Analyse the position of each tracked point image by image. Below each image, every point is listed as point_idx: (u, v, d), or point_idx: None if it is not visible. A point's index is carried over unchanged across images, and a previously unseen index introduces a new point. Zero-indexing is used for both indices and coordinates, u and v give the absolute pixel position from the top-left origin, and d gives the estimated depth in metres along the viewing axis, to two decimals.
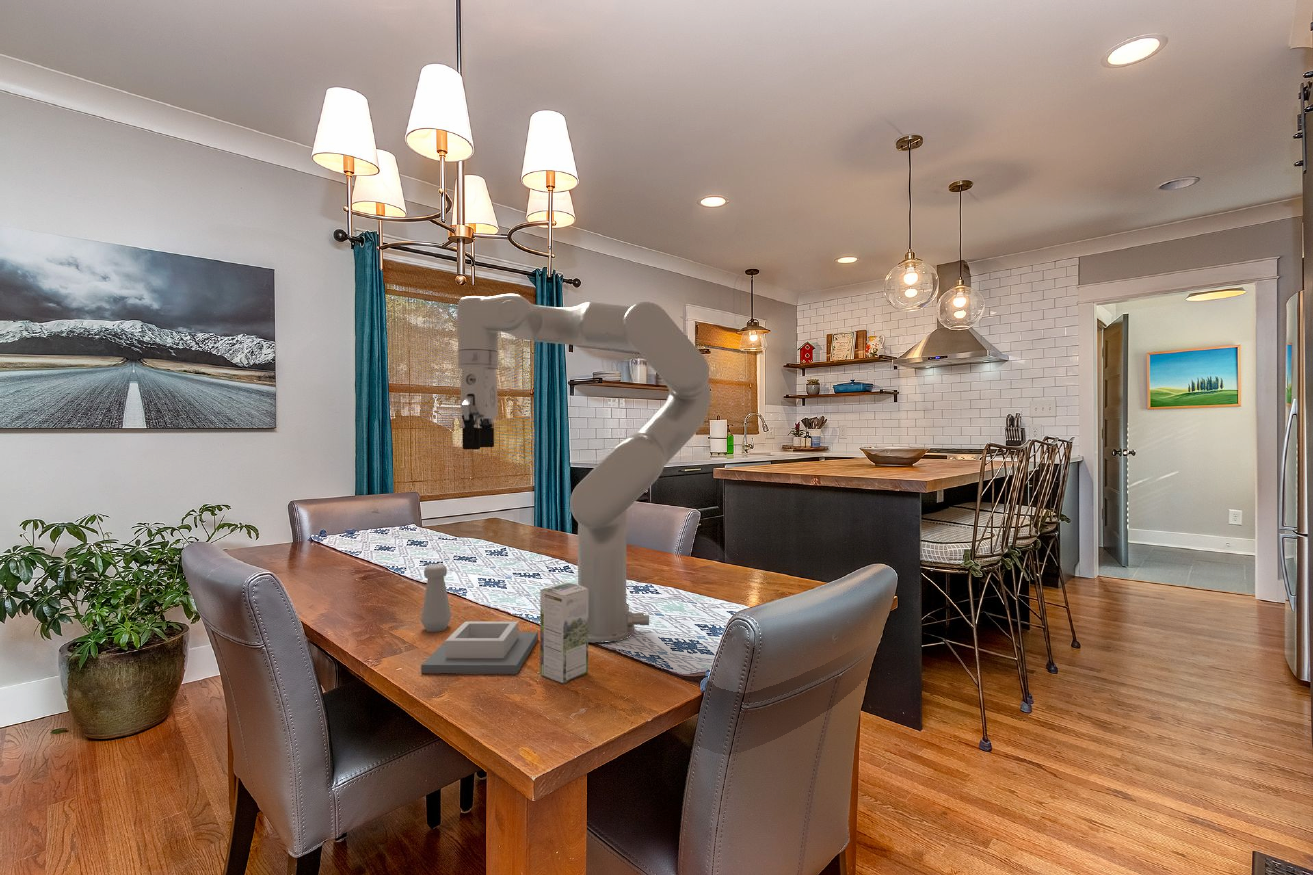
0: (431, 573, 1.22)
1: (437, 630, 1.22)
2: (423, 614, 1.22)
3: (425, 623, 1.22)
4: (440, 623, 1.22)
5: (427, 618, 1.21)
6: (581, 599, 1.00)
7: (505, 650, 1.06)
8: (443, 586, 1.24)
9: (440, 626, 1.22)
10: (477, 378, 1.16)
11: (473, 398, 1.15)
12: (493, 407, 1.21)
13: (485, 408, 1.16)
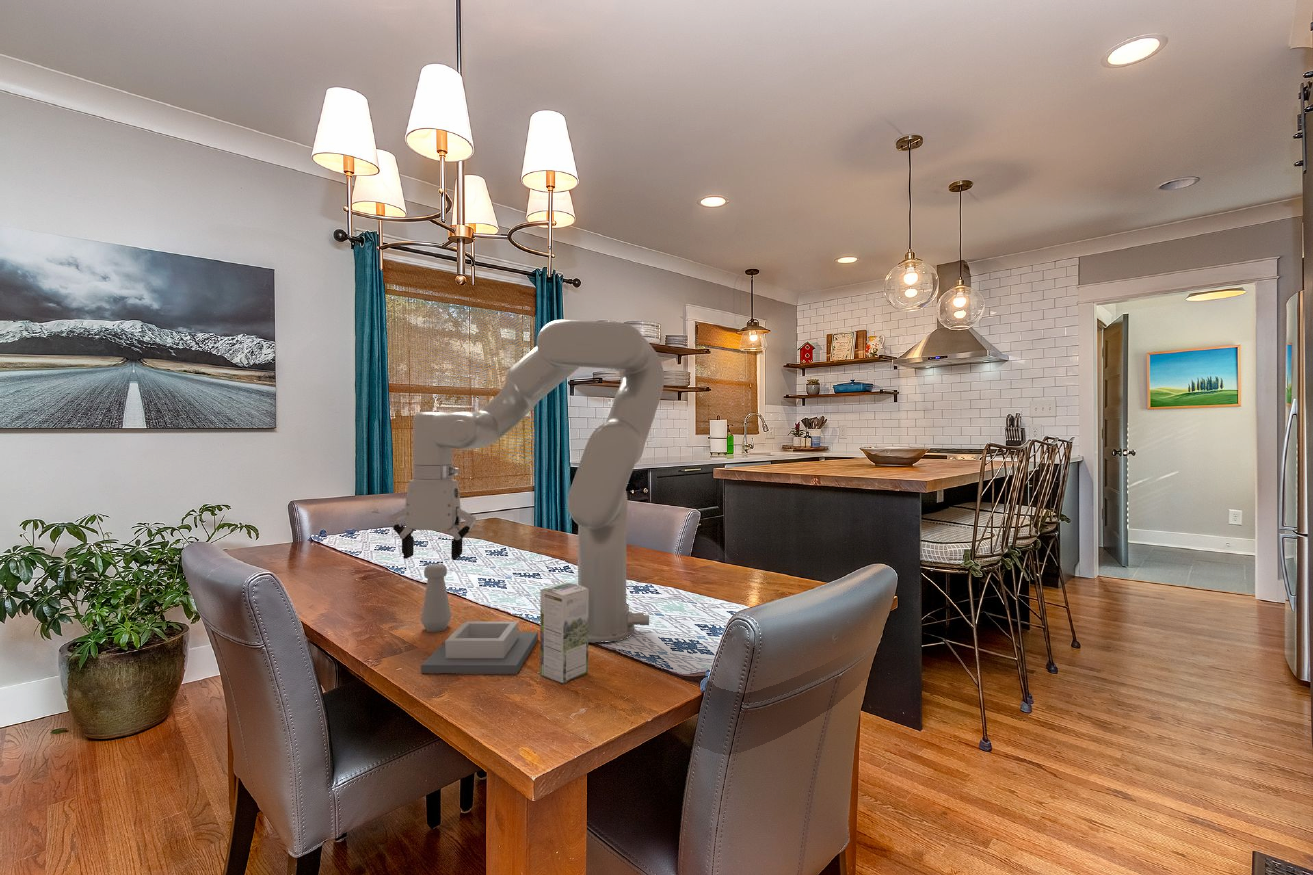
0: (431, 573, 1.22)
1: (437, 630, 1.22)
2: (423, 614, 1.22)
3: (425, 623, 1.22)
4: (440, 623, 1.22)
5: (427, 618, 1.21)
6: (581, 599, 1.00)
7: (505, 650, 1.06)
8: (443, 586, 1.24)
9: (440, 626, 1.22)
10: (458, 491, 1.25)
11: None
12: None
13: None
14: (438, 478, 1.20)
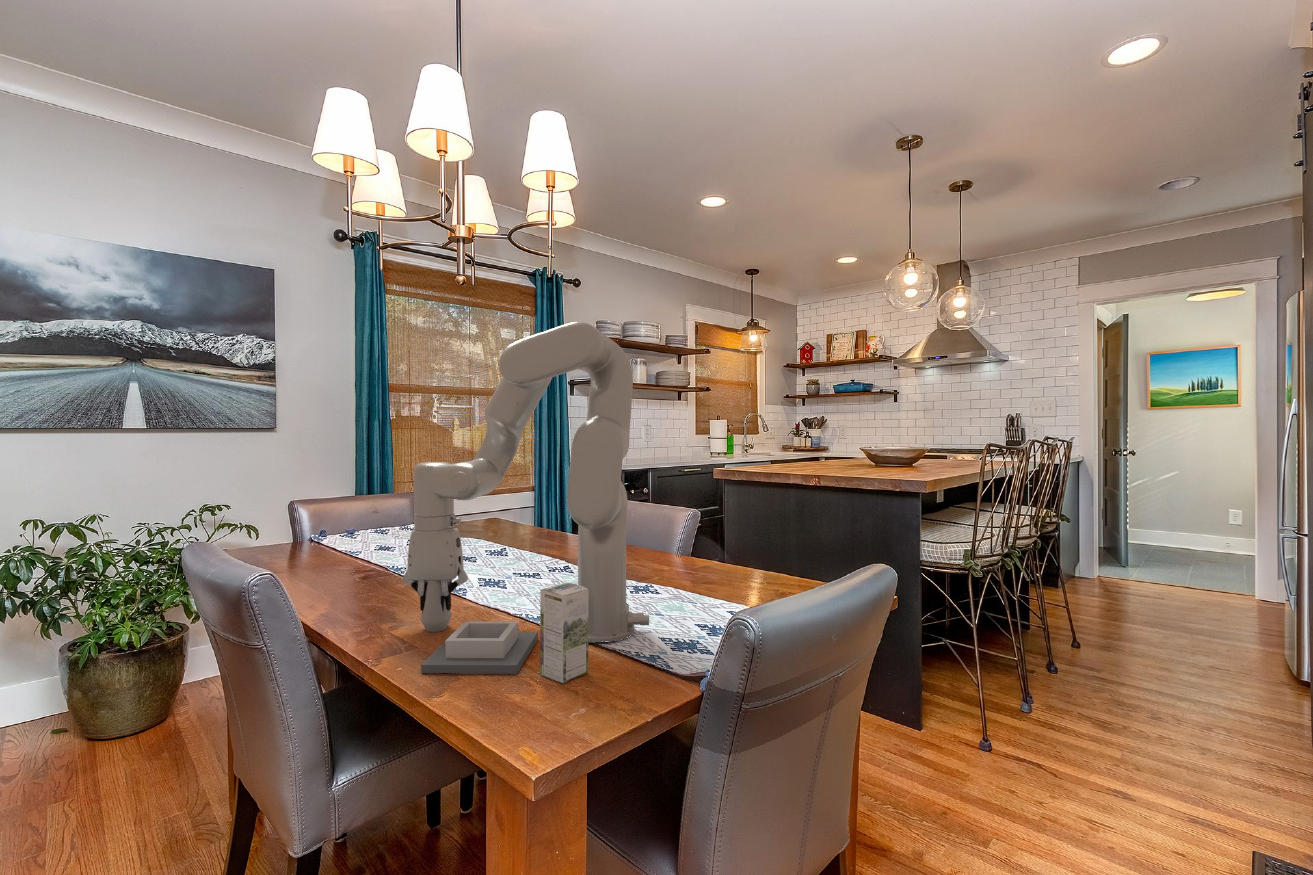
0: None
1: (437, 630, 1.22)
2: (423, 614, 1.22)
3: (425, 622, 1.22)
4: (440, 623, 1.22)
5: (427, 618, 1.21)
6: (581, 599, 1.00)
7: (505, 650, 1.06)
8: None
9: (440, 626, 1.22)
10: (460, 540, 1.25)
11: None
12: None
13: None
14: (440, 529, 1.21)
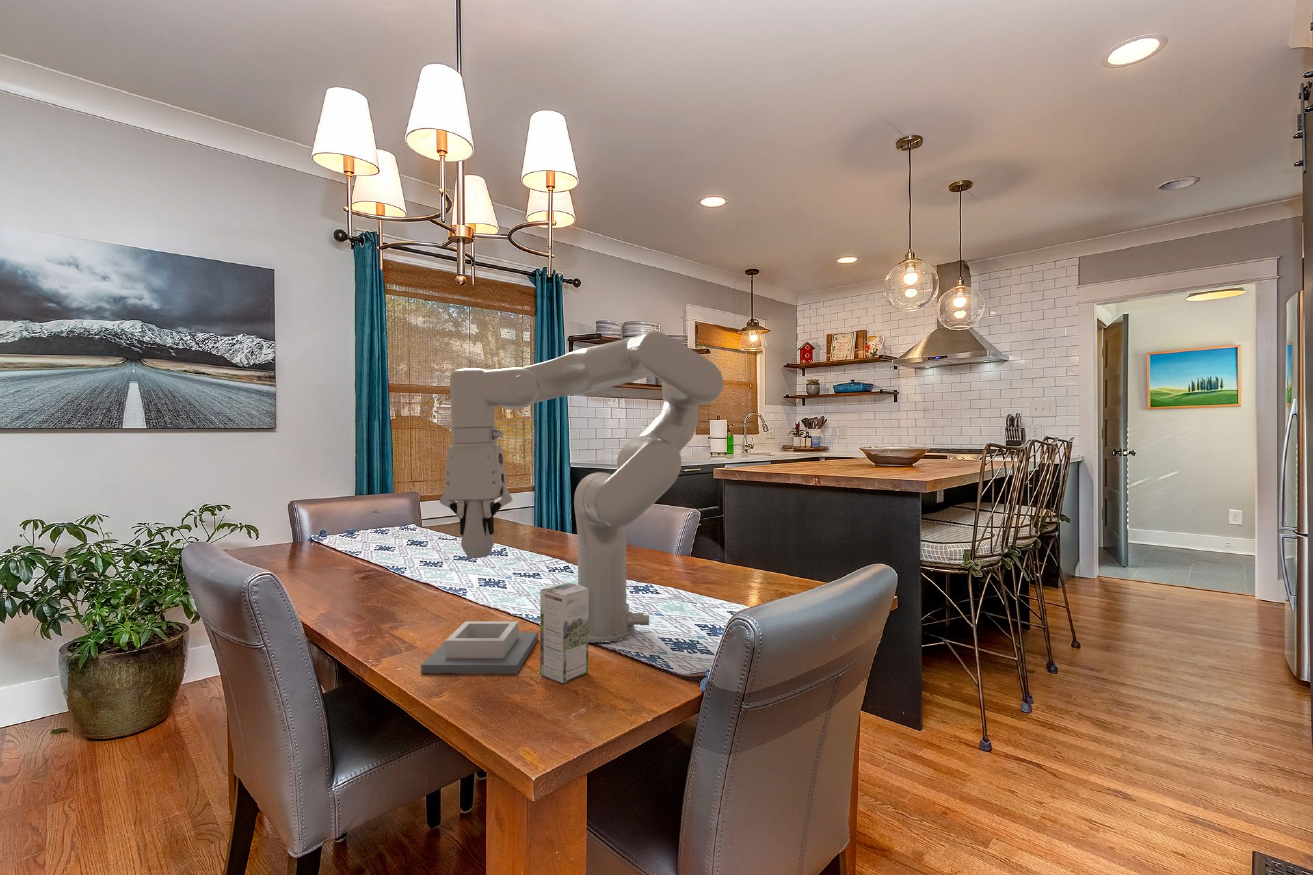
0: None
1: (479, 556, 1.09)
2: (464, 537, 1.09)
3: (466, 547, 1.09)
4: (483, 548, 1.09)
5: (468, 542, 1.08)
6: (581, 599, 1.00)
7: (505, 650, 1.06)
8: None
9: (482, 551, 1.09)
10: (502, 457, 1.12)
11: None
12: None
13: None
14: (480, 442, 1.07)
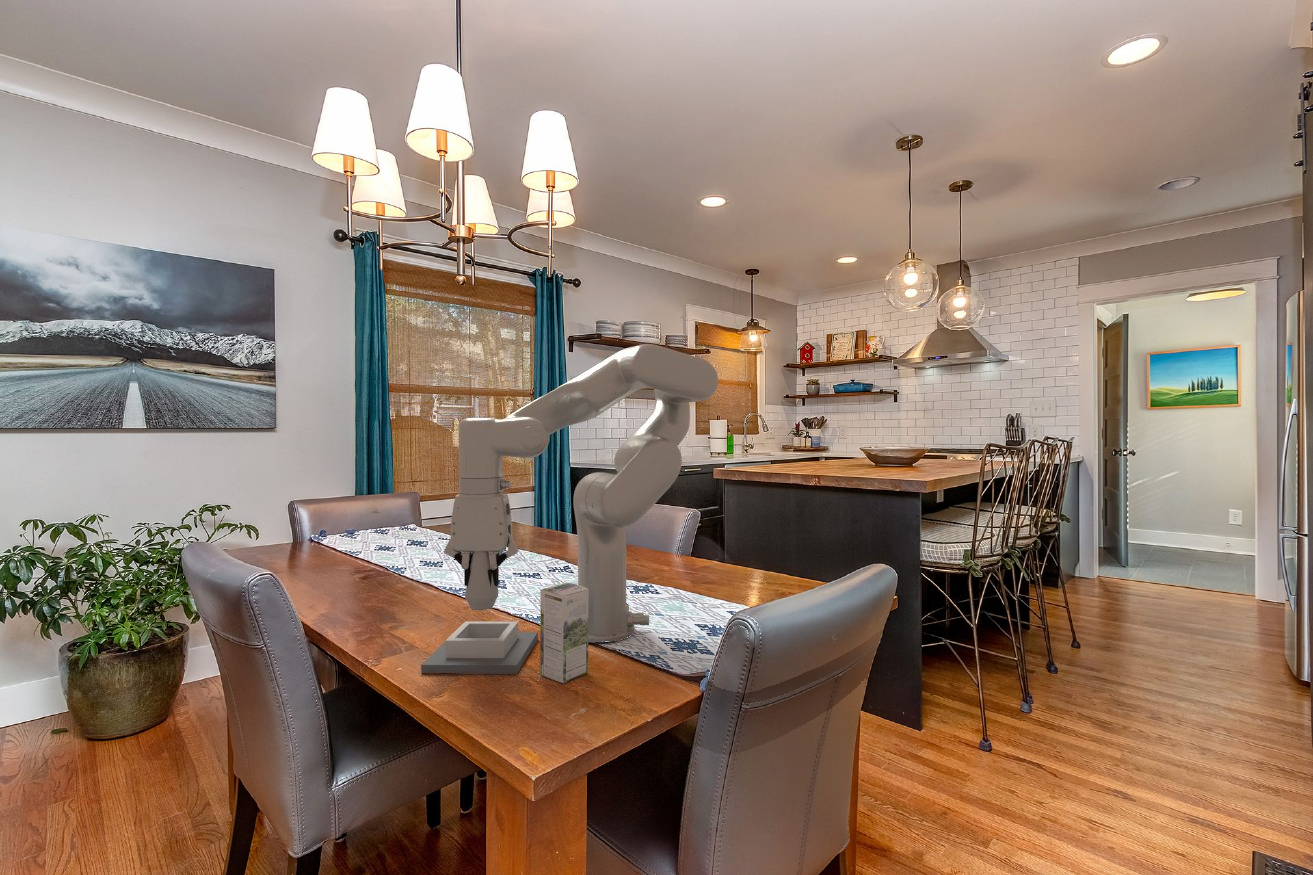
0: None
1: (484, 608, 1.08)
2: (468, 589, 1.07)
3: (470, 599, 1.07)
4: (488, 600, 1.07)
5: (472, 594, 1.07)
6: (581, 599, 1.00)
7: (505, 650, 1.06)
8: None
9: (487, 603, 1.07)
10: (509, 507, 1.10)
11: None
12: None
13: None
14: (488, 493, 1.06)
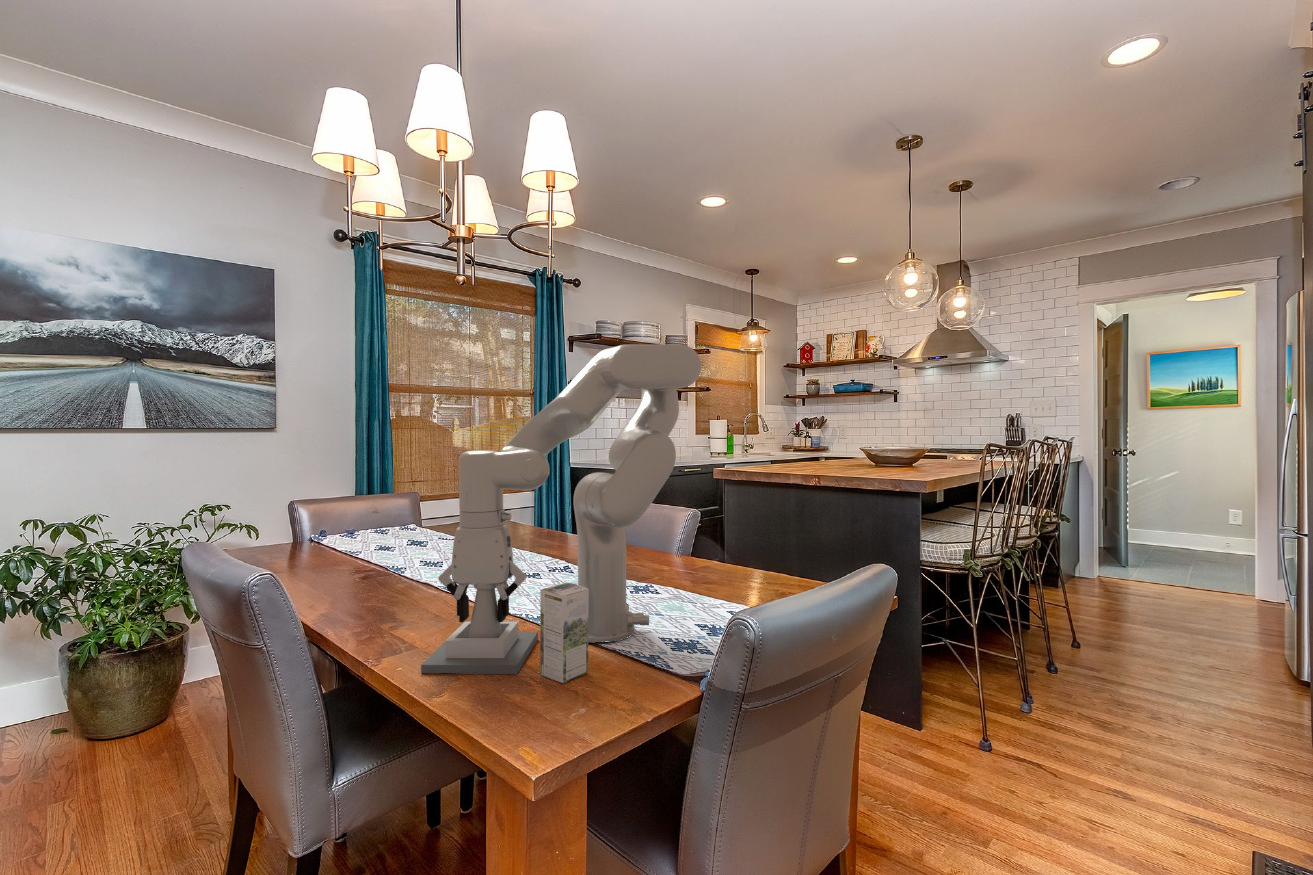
0: None
1: None
2: (472, 630, 1.08)
3: None
4: None
5: (475, 635, 1.07)
6: (581, 599, 1.00)
7: (505, 650, 1.06)
8: (494, 599, 1.09)
9: None
10: (510, 539, 1.10)
11: None
12: None
13: None
14: (489, 526, 1.06)
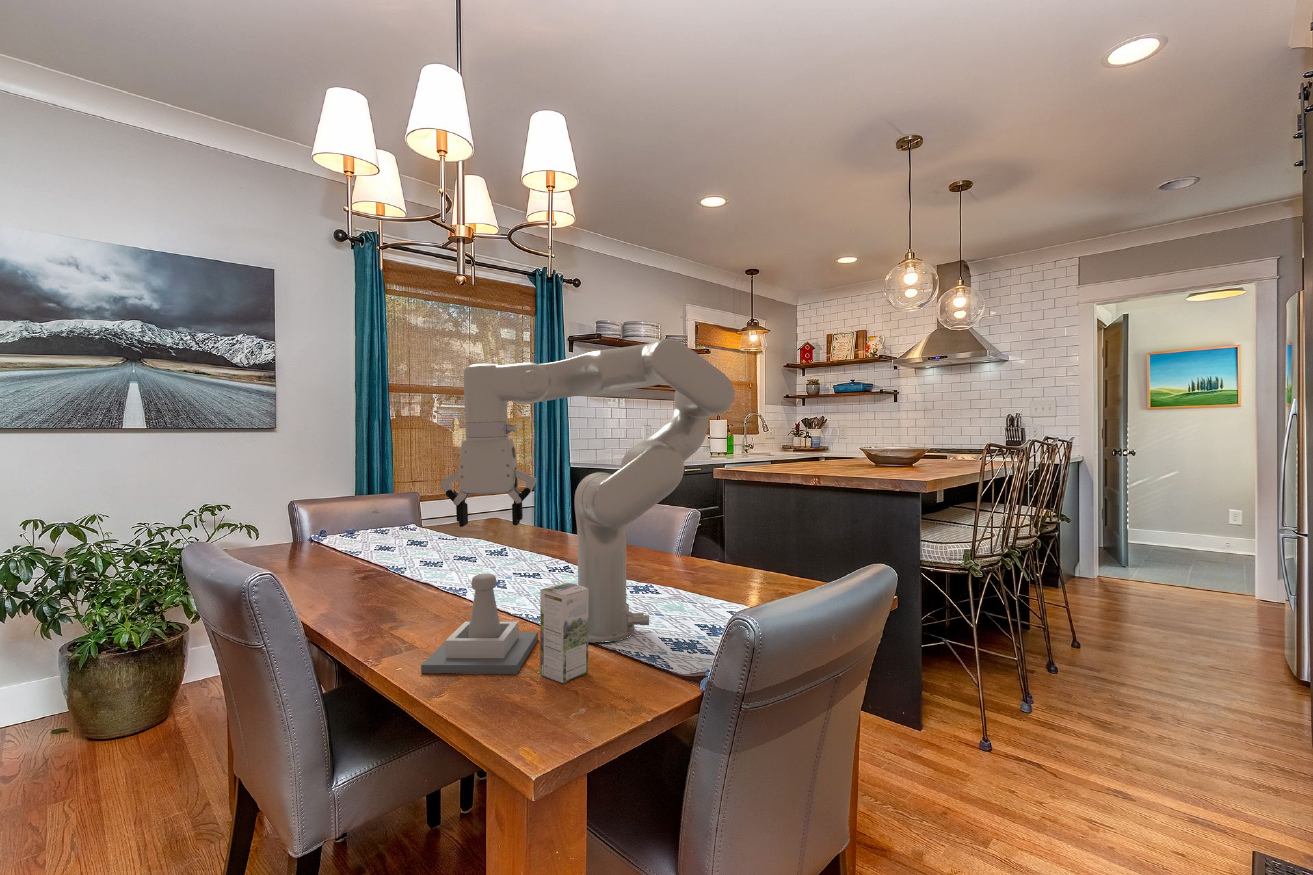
0: (480, 584, 1.07)
1: None
2: (471, 630, 1.08)
3: None
4: None
5: (475, 635, 1.07)
6: (581, 599, 1.00)
7: (505, 650, 1.06)
8: (493, 599, 1.09)
9: None
10: None
11: None
12: None
13: None
14: (495, 436, 1.09)
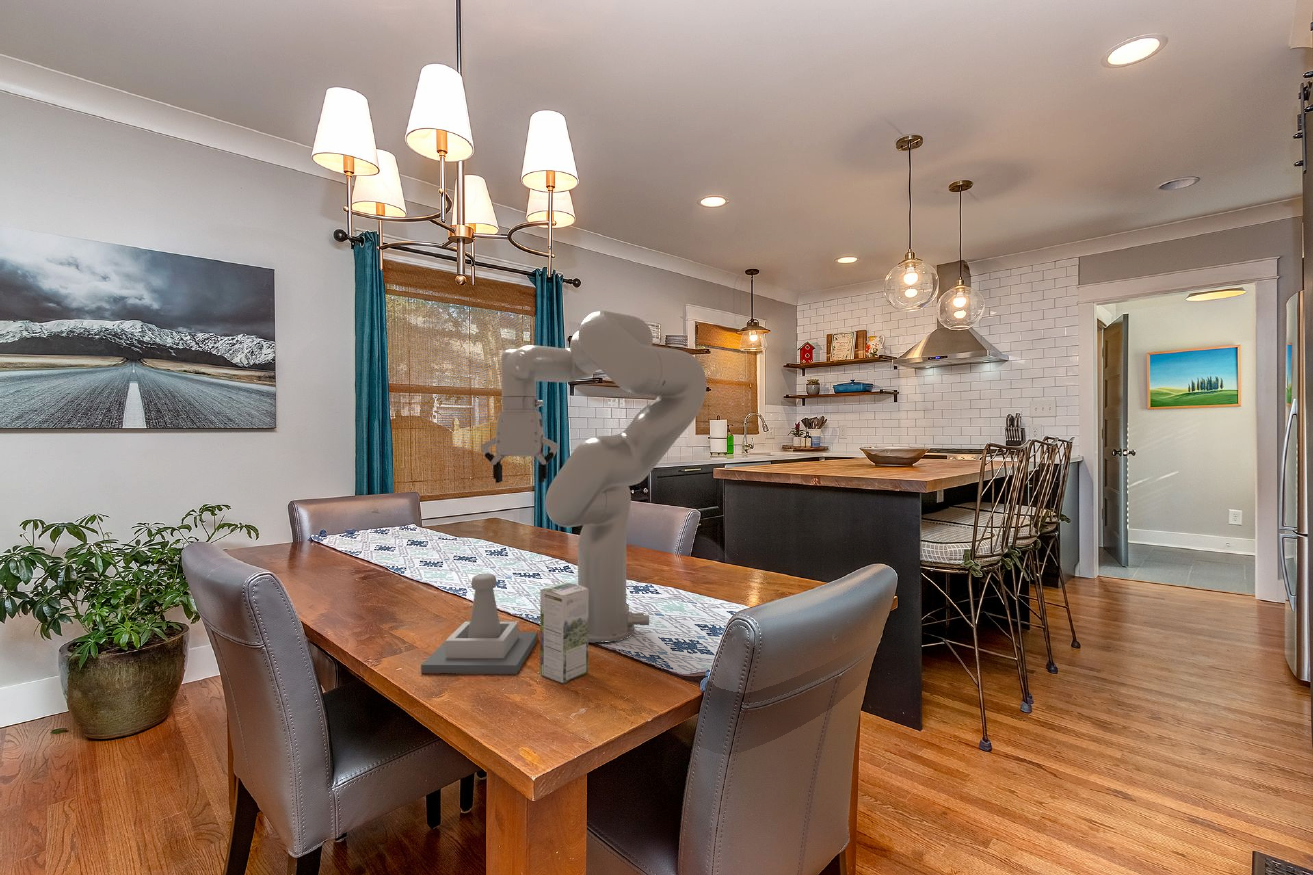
0: (480, 584, 1.07)
1: None
2: (471, 630, 1.08)
3: None
4: None
5: (475, 635, 1.07)
6: (581, 599, 1.00)
7: (505, 650, 1.06)
8: (493, 599, 1.09)
9: None
10: None
11: None
12: None
13: None
14: (526, 408, 1.34)
